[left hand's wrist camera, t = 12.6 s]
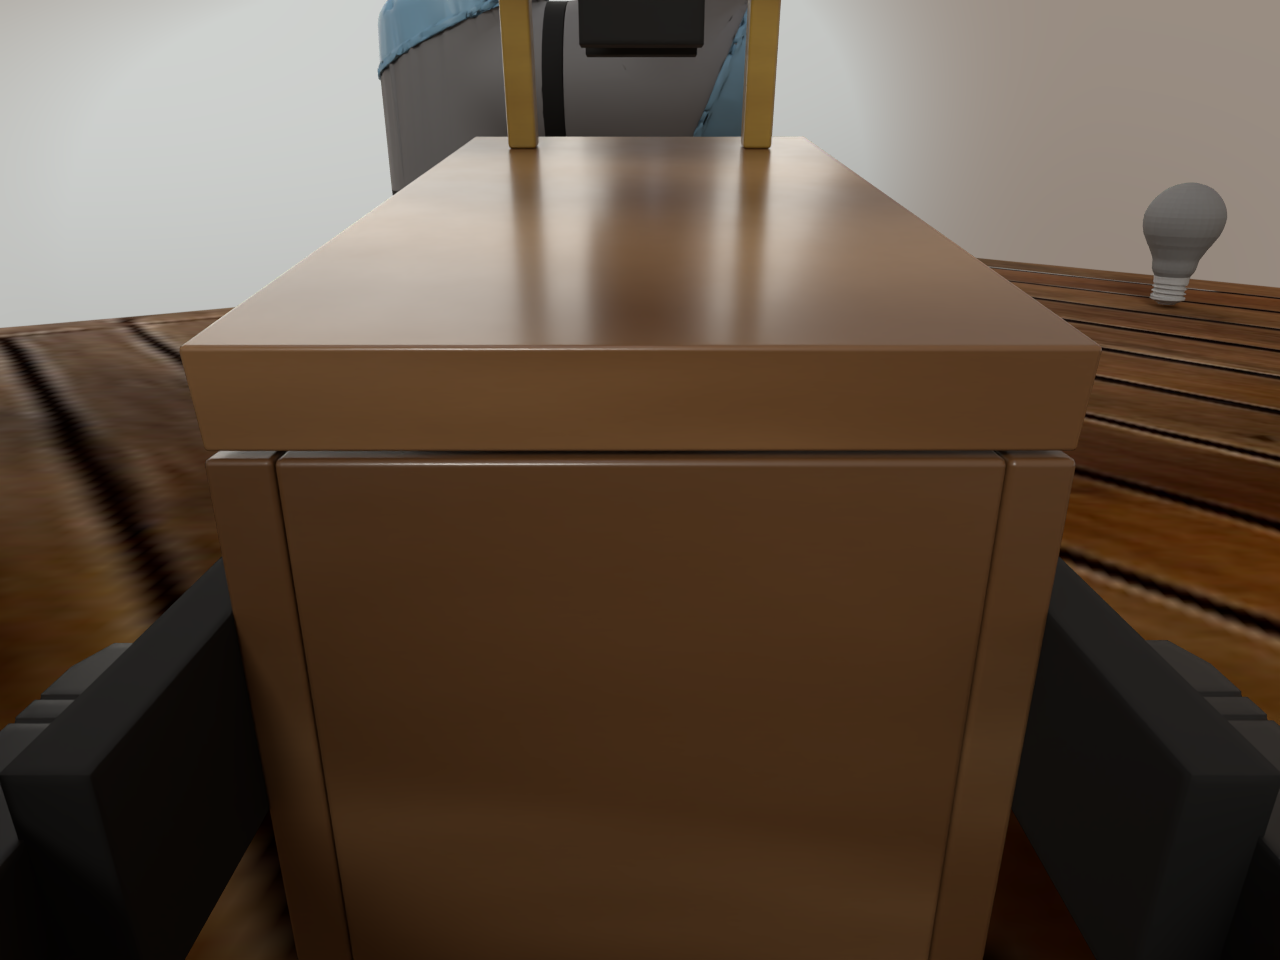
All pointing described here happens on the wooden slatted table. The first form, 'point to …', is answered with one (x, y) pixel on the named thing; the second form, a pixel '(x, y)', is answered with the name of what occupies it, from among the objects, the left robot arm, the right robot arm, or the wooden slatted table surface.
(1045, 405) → the lid
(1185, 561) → the wooden slatted table surface
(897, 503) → the chest
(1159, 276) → the light bulb
